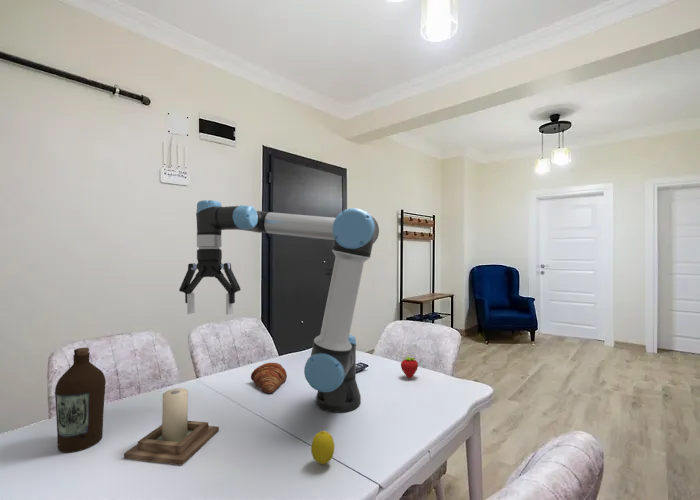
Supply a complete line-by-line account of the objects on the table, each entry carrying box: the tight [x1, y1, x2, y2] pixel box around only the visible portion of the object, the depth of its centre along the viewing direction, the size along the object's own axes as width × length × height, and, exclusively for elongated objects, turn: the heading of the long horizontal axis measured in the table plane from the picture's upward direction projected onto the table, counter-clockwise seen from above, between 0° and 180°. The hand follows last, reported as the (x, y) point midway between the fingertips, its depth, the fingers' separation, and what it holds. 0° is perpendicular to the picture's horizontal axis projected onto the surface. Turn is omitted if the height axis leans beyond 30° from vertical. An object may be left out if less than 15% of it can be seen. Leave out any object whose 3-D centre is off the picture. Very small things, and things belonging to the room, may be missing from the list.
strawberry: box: [400, 354, 419, 379], centre depth 139 cm, size 6×8×10 cm
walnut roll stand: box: [123, 420, 220, 466], centre depth 91 cm, size 16×16×3 cm
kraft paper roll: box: [161, 387, 189, 442], centre depth 91 cm, size 6×6×12 cm
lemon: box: [310, 430, 335, 465], centre depth 82 cm, size 6×6×8 cm
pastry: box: [250, 362, 288, 395], centre depth 133 cm, size 17×15×8 cm
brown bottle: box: [54, 347, 107, 454], centre depth 91 cm, size 11×11×25 cm
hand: (210, 313), depth 111 cm, fingers open, 13 cm apart
